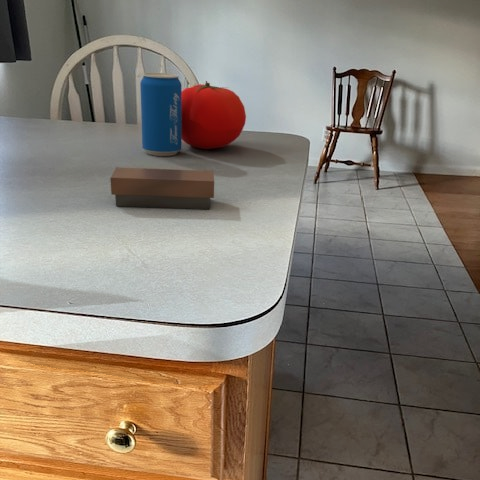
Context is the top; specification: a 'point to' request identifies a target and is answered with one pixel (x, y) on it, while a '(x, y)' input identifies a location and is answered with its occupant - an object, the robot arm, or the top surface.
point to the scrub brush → (162, 188)
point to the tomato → (210, 116)
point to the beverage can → (161, 113)
